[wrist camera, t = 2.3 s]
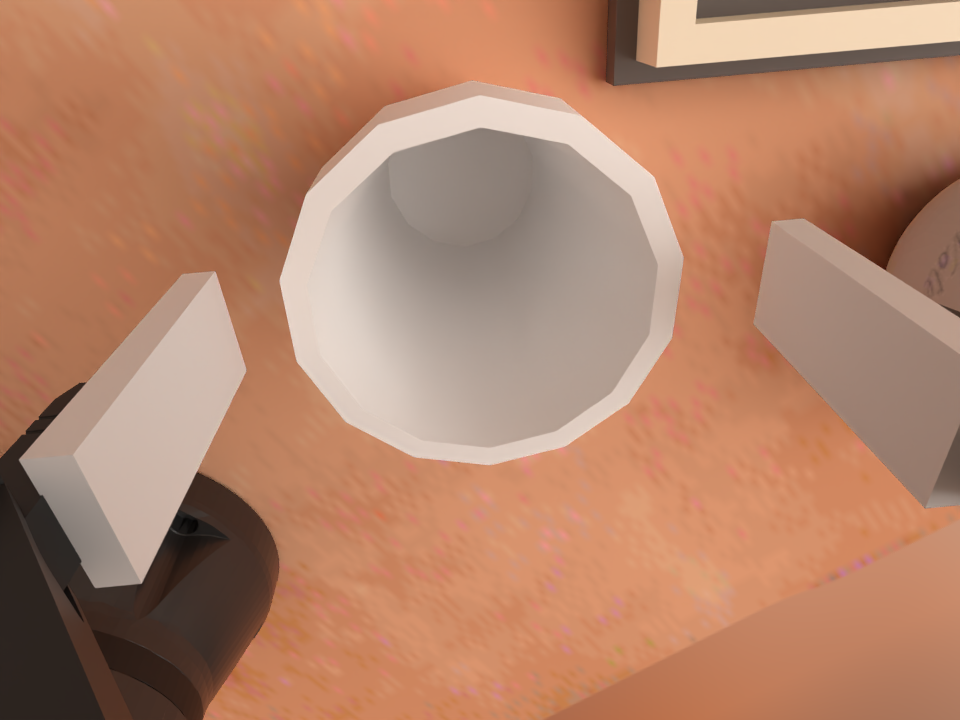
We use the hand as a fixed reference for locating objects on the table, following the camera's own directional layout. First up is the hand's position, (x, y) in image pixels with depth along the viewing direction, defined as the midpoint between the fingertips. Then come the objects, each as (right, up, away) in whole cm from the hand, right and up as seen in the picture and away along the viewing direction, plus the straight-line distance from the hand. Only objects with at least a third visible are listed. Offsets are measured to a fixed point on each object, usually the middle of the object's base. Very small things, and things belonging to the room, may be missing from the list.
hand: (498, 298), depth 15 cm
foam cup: (-1, +6, +11) cm, 13 cm away
